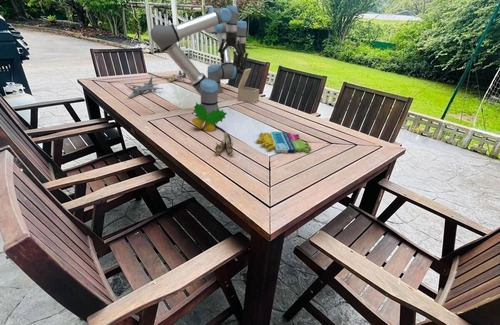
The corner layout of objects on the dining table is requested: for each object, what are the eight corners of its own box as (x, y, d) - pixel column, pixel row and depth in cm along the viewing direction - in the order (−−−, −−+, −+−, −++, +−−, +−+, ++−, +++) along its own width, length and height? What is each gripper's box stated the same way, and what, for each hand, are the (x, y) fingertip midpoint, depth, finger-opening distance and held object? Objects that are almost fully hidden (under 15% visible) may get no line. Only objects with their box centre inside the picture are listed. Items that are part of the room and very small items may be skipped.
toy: (194, 71, 284) (182, 76, 258) (194, 78, 288) (182, 83, 262) (171, 69, 289) (156, 73, 263) (171, 75, 293) (157, 80, 267)
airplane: (122, 88, 234) (120, 76, 229) (158, 85, 247) (157, 74, 242) (127, 100, 206) (124, 88, 201) (167, 97, 219) (166, 85, 214)
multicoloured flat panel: (313, 150, 142) (258, 149, 139) (312, 153, 143) (258, 152, 140) (301, 132, 164) (254, 130, 161) (301, 134, 165) (254, 133, 162)
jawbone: (234, 135, 144) (233, 125, 135) (233, 160, 138) (232, 151, 129) (217, 135, 144) (216, 125, 135) (216, 160, 138) (214, 150, 129)
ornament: (218, 133, 171) (224, 110, 169) (221, 134, 163) (227, 111, 161) (186, 125, 162) (192, 101, 160) (189, 126, 155) (195, 101, 153)
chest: (258, 100, 227) (259, 89, 222) (253, 103, 219) (254, 91, 214) (243, 97, 232) (243, 86, 228) (237, 99, 225) (238, 88, 220)
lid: (251, 69, 218) (243, 64, 219) (245, 70, 210) (237, 65, 211) (244, 86, 227) (236, 81, 229) (238, 88, 219) (230, 83, 221)
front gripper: (250, 33, 178) (248, 65, 188) (218, 30, 187) (218, 61, 197) (245, 33, 172) (243, 67, 182) (213, 30, 181) (213, 62, 191)
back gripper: (251, 43, 208) (249, 74, 219) (235, 41, 213) (234, 71, 224) (247, 44, 202) (245, 75, 213) (230, 42, 207) (230, 73, 219)
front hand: (230, 64), depth 190 cm, fingers open, 13 cm apart
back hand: (239, 73), depth 219 cm, fingers closed on lid, 2 cm apart
